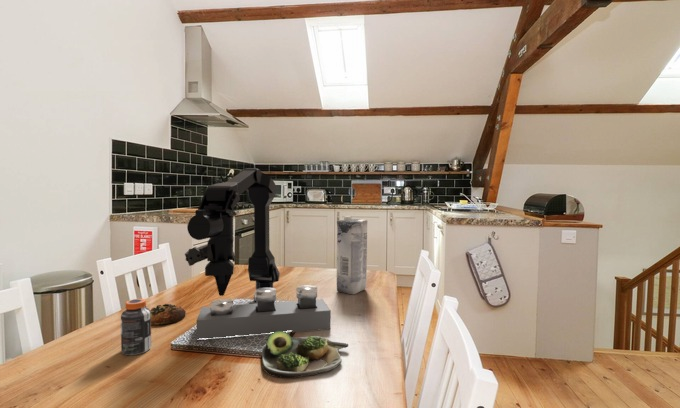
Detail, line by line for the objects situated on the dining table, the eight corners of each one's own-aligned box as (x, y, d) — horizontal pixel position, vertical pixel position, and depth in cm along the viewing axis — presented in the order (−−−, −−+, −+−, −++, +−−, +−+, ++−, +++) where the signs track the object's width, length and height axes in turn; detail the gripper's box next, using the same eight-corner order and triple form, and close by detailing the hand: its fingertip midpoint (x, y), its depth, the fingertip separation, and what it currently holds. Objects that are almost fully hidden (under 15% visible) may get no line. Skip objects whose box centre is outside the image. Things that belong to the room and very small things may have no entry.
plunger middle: (254, 313, 98) (254, 288, 98) (275, 311, 99) (275, 286, 99) (255, 320, 93) (255, 294, 92) (277, 319, 94) (277, 292, 94)
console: (201, 325, 97) (201, 307, 96) (322, 315, 105) (322, 298, 105) (196, 341, 87) (196, 320, 87) (330, 329, 95) (330, 310, 95)
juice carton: (369, 289, 133) (370, 216, 132) (354, 296, 124) (355, 217, 123) (348, 285, 138) (349, 214, 137) (333, 292, 129) (334, 216, 128)
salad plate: (340, 337, 91) (340, 319, 91) (360, 374, 73) (360, 351, 73) (261, 344, 86) (261, 325, 86) (262, 384, 69) (262, 360, 69)
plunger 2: (295, 310, 101) (295, 285, 100) (314, 308, 102) (315, 284, 102) (297, 317, 95) (298, 291, 95) (318, 315, 97) (319, 290, 96)
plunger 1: (211, 325, 95) (211, 299, 95) (233, 324, 97) (233, 298, 96) (209, 334, 90) (209, 306, 90) (232, 332, 91) (232, 305, 91)
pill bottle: (157, 347, 83) (156, 298, 83) (133, 358, 78) (132, 306, 77) (139, 342, 86) (139, 295, 85) (115, 352, 81) (114, 302, 80)
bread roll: (188, 321, 100) (186, 303, 99) (143, 334, 94) (140, 315, 94) (183, 310, 109) (180, 294, 109) (142, 322, 104) (139, 305, 103)
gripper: (192, 230, 99) (192, 287, 100) (181, 240, 81) (181, 309, 82) (235, 230, 102) (235, 285, 103) (233, 239, 84) (233, 306, 84)
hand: (221, 295), depth 93 cm, fingers closed
